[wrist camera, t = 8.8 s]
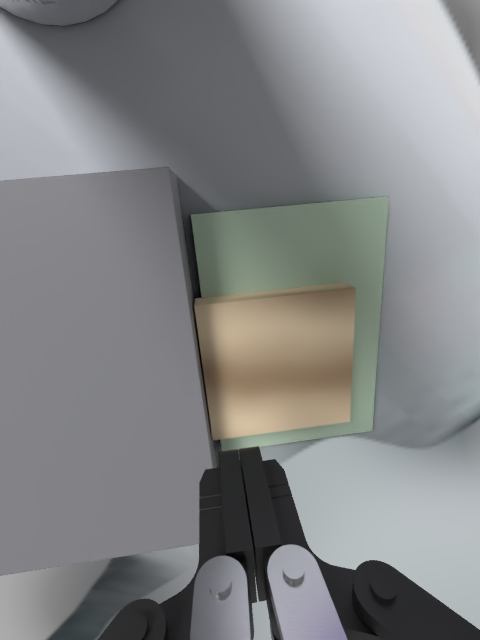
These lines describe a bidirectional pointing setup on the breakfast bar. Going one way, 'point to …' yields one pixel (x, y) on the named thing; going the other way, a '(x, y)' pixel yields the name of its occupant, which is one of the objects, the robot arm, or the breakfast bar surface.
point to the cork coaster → (277, 358)
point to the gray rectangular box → (98, 371)
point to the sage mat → (303, 279)
